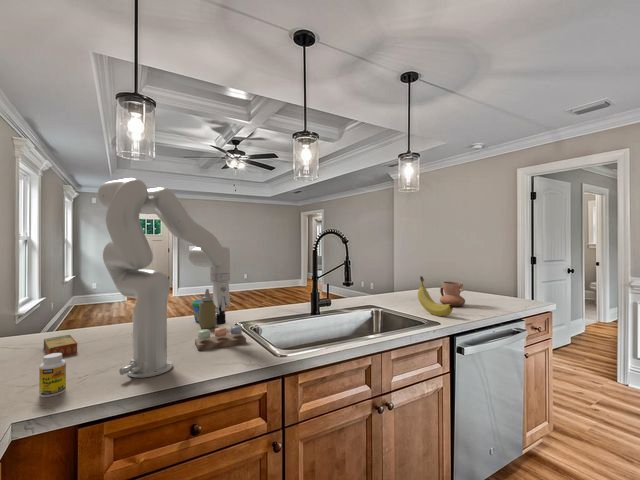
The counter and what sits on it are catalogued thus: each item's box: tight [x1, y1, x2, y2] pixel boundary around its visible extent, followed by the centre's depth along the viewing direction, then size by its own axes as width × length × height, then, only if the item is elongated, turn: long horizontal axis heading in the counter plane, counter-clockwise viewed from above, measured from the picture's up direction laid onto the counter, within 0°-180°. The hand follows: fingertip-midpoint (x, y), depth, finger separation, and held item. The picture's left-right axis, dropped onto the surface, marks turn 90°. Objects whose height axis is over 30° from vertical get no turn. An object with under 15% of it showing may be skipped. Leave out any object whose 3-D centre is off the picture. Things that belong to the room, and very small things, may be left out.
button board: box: [194, 333, 247, 352], centre depth 129 cm, size 18×9×2 cm, turn 118°
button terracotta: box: [214, 326, 227, 337], centre depth 129 cm, size 4×4×2 cm
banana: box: [417, 275, 454, 317], centre depth 177 cm, size 23×6×20 cm, turn 29°
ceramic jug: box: [439, 281, 466, 308], centre depth 202 cm, size 18×14×14 cm
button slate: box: [230, 324, 243, 334], centre depth 132 cm, size 4×4×2 cm
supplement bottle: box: [38, 353, 67, 398], centre depth 88 cm, size 6×6×10 cm
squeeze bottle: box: [198, 288, 217, 330], centre depth 153 cm, size 8×8×18 cm
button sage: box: [197, 329, 211, 339], centre depth 126 cm, size 4×4×2 cm
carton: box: [43, 334, 78, 357], centre depth 122 cm, size 8×16×4 cm, turn 45°
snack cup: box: [191, 298, 213, 323], centre depth 166 cm, size 16×10×10 cm
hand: (220, 323), depth 129 cm, fingers closed
